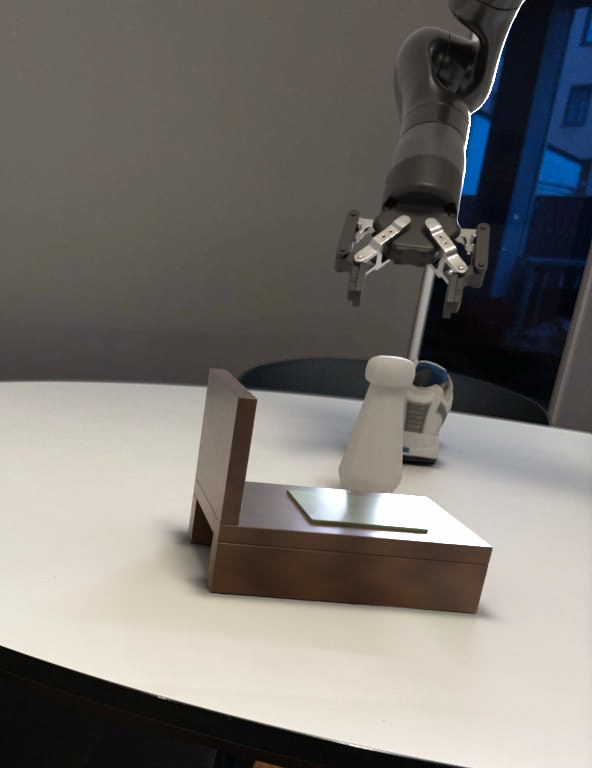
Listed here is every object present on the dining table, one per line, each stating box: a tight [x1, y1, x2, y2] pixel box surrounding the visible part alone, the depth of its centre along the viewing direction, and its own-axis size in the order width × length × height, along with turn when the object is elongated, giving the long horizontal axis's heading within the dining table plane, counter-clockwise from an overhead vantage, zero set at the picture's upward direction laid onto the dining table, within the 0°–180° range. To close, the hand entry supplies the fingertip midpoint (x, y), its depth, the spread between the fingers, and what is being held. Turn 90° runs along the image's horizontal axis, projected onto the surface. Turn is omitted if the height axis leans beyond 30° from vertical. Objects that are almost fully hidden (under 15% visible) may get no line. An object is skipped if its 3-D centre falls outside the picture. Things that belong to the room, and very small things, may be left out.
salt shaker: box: [338, 355, 415, 494], centre depth 93 cm, size 6×6×13 cm
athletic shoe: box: [402, 356, 454, 463], centre depth 122 cm, size 10×23×12 cm, turn 174°
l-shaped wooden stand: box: [187, 367, 493, 614], centre depth 70 cm, size 18×13×13 cm
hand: (401, 306), depth 97 cm, fingers open, 8 cm apart
